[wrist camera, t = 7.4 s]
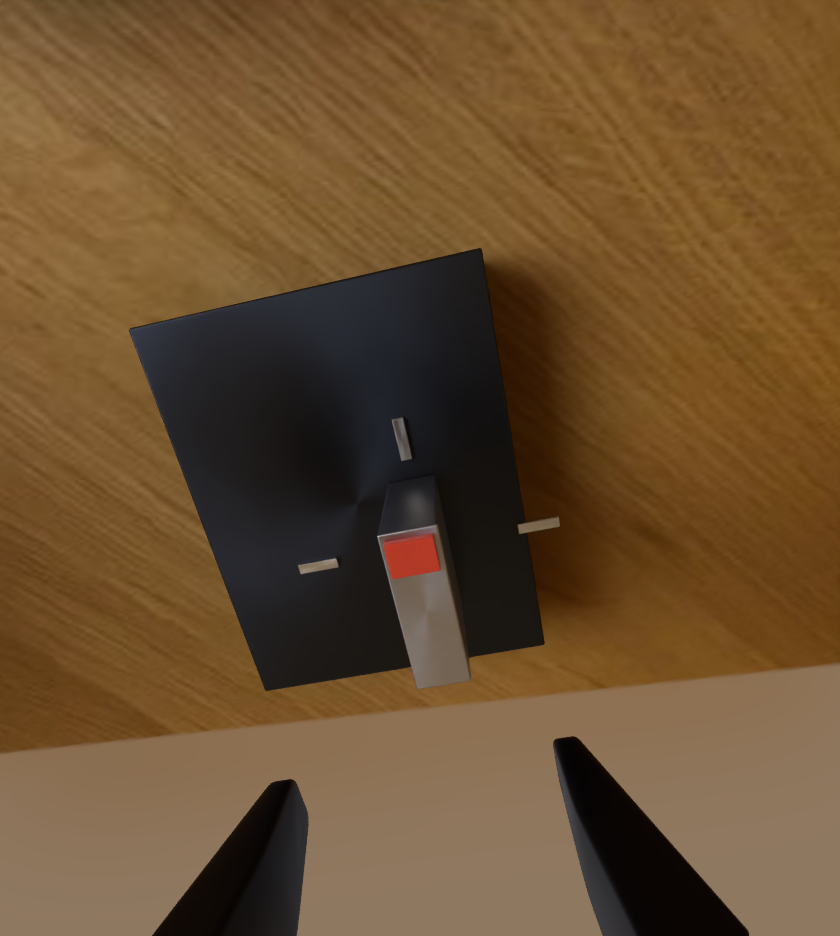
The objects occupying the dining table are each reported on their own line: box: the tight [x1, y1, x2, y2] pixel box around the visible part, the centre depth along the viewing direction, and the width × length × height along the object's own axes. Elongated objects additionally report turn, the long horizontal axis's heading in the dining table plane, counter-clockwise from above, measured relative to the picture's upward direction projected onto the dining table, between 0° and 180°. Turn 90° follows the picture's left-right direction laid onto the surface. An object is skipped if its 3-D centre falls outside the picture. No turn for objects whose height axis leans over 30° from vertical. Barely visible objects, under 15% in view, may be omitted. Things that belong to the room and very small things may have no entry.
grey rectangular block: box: [377, 475, 471, 689], centre depth 15 cm, size 5×2×4 cm, turn 12°
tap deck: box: [129, 248, 560, 691], centre depth 18 cm, size 14×12×3 cm
